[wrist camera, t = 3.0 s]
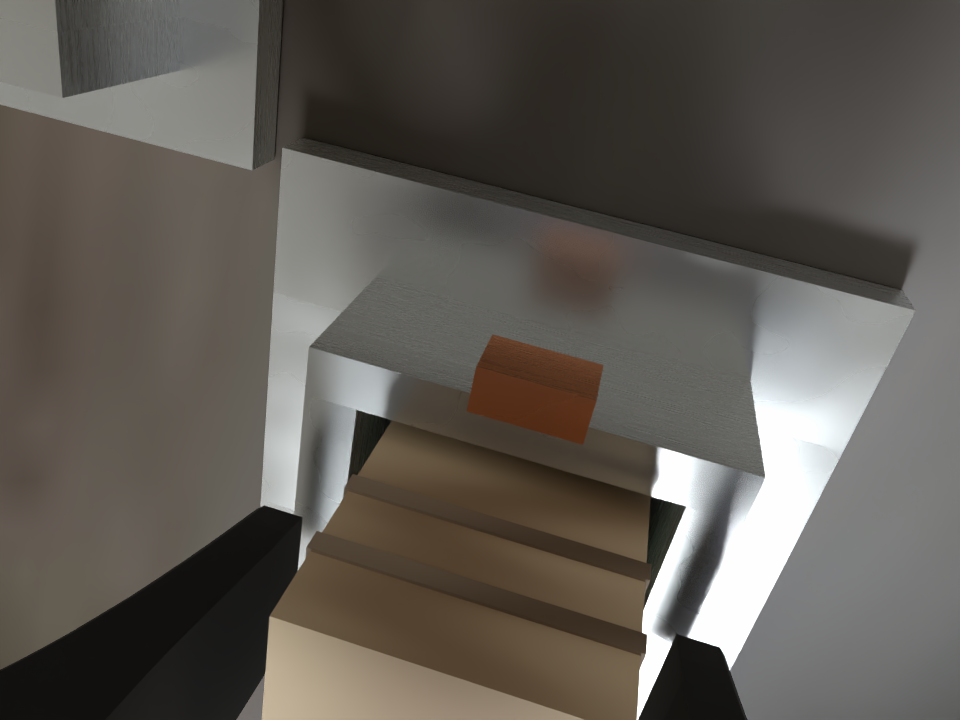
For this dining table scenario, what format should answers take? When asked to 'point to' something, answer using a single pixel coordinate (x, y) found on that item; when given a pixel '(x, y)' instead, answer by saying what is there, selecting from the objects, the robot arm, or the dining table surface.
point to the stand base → (568, 366)
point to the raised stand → (150, 70)
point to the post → (464, 593)
